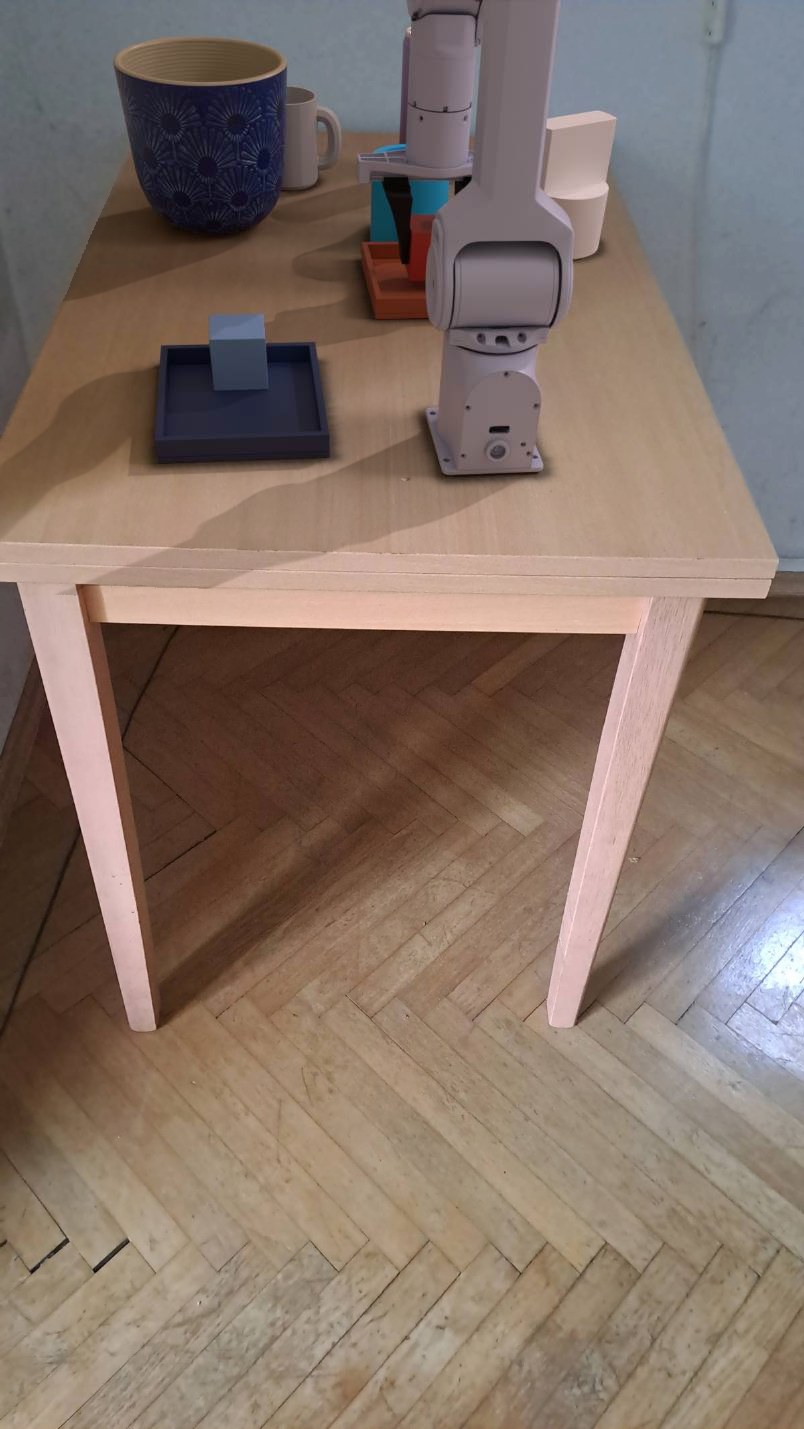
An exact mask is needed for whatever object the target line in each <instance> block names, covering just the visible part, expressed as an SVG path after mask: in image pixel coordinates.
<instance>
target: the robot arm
mask: <svg viewBox="0 0 804 1429" xmlns="http://www.w3.org/2000/svg"><path fill="white" fill-rule="evenodd" d="M561 3H562V0H406V6H407V14H408V16H409V17H410V27H411V34H410V60H409V84H408V109H407V132H406V149H403V150H395V151H387V152H379V153H373V152H372V153H356V179H357V183H358V184H359V185H369V184H371V181H381V182H382V186H383V189H384V192H385V195H386V197H387V200H388V202H389V205H390V208H391V211H392V214H393V218H394V222H395V226H396V231H397V236H398V243H399V257H400V260H401V263H402V264H409V254H410V221H411V211H412V203H413V197H412V195H411V186H410V184H409V182H408V181H450V182H454V194H453V195H454V196H453V197H452V198H450V199H448V202H447V203H446V204H444V205H443V206H442V207H441V208H440V209H439V210H438V211H437V212H436V215H435V219H434V221H433V223H432V235H431V244H430V247H429V251H428V256H427V264H426V303H427V312H428V317H429V318H428V320H429V322H430V323H431V324H432V326H433V327H434V328H435V330H436V331H437V332H443V340H442V353H441V366H440V379H439V392H438V393H439V394H438V404H437V405H438V406H431V407H426V408H425V418H426V421H427V424H428V428H429V431H430V435H431V438H432V441H433V446H434V448H435V453H436V456H437V459H438V462H439V466H440V469H441V473H443V474H444V475H446V476H459V475H462V476H463V475H485V474H508V473H509V474H512V473H536V472H537V473H538V472H541V471H543V470H544V462H543V460H542V457H541V454H540V453H539V450H538V448H537V445H536V440H537V434H538V427H539V421H540V414H541V408H542V391H541V388H540V385H539V382H538V379H537V376H536V375H537V374H536V370H537V364H538V363H537V362H538V355H539V350H540V349H539V348H540V345H541V344H547V343H548V338H549V331H550V330H556V329H557V328H559V327H560V325H561V324H562V322H563V321H564V320H565V319H566V317H567V316H568V313H569V311H570V307H571V303H572V299H573V292H574V280H575V279H574V278H575V276H574V275H575V274H574V271H575V270H574V261H573V260H574V259H573V246H574V231H573V228H572V224H571V221H570V219H569V217H568V215H567V213H566V212H565V211H564V210H563V209H562V208H561V207H560V206H559V205H558V204H557V203H556V202H555V201H554V200H553V199H552V198H551V197H549V196H548V195H547V194H546V193H545V192H544V191H543V190H542V189H541V188H540V178H541V170H542V161H543V152H544V144H545V135H546V126H547V119H549V117H548V116H549V108H550V107H549V106H550V100H551V99H550V98H551V90H552V83H553V82H552V81H553V74H554V73H553V72H554V64H555V56H556V46H557V38H558V30H559V23H560V22H559V21H560V20H559V19H560V11H561ZM478 46H480V58H479V71H478V73H479V74H478V87H477V98H476V113H475V127H474V128H475V130H474V140H473V150H470V149H469V147H470V135H471V123H472V113H473V112H472V111H473V100H474V99H473V98H474V87H475V75H476V64H477V49H478Z"/></svg>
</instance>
